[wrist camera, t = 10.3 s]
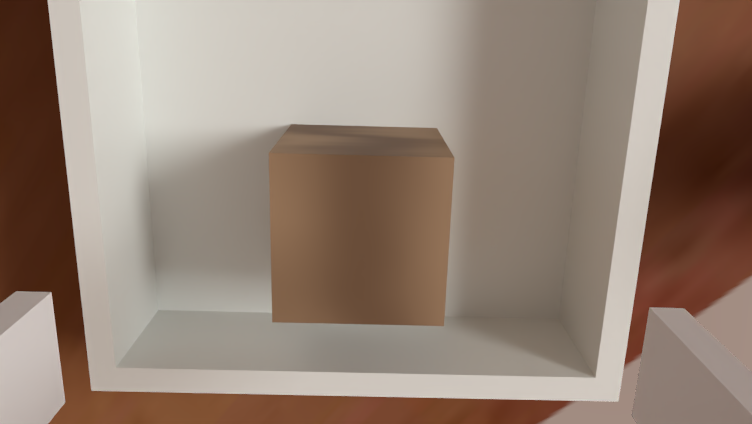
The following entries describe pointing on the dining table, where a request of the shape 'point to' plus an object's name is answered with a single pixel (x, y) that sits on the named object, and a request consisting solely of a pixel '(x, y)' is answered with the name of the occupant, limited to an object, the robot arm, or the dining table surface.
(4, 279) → the dining table surface
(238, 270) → the tote
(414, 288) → the walnut cube
